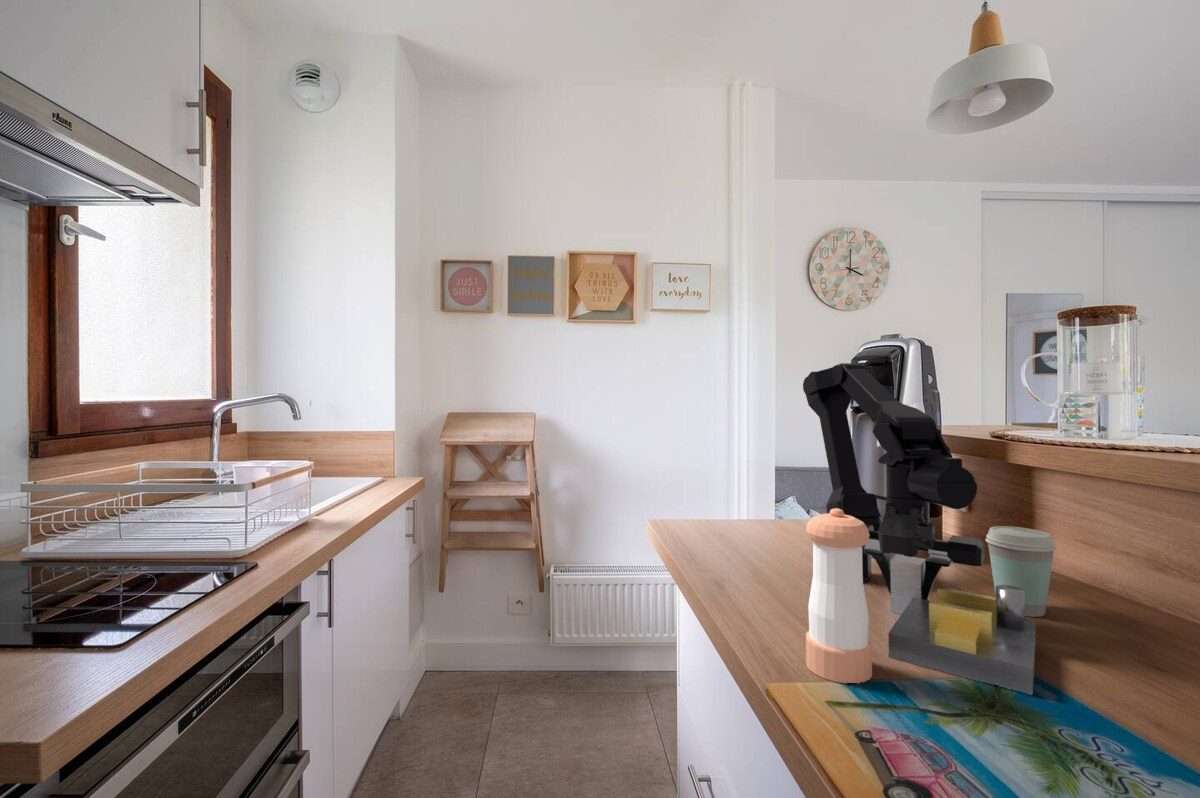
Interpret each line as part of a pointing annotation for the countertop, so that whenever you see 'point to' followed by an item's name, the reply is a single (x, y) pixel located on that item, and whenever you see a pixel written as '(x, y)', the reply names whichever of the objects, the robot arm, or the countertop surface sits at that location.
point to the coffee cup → (1022, 563)
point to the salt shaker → (838, 600)
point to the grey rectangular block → (906, 581)
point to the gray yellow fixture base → (969, 636)
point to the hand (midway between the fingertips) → (908, 598)
